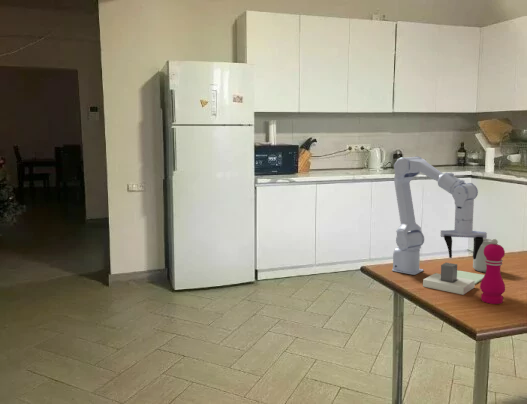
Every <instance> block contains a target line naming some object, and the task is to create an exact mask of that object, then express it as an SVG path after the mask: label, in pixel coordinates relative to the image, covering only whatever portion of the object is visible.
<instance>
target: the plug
mask: <svg viewBox="0 0 527 404" xmlns="http://www.w3.org/2000/svg"><path fill="white" fill-rule="evenodd" d="M457 270H458V263H451V262H444V263H443V264H441V265H440V274H441V281H445V282H450V283H454V282H456V281H457Z"/></svg>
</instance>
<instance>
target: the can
mask: <svg viewBox="0 0 527 404" xmlns="http://www.w3.org/2000/svg"><path fill="white" fill-rule="evenodd" d="M492 240H493V239H492V238H491V239H490V238H486V239H484V238H483V243H482V245H481V246H480V248H479V250H478V253H477V256H476V259H473V258H472V268H473V269H474V270H475V271H476V272H479V273H480V272H481V273H486V268H487V267H486V263H485V259H486V257H485V255H484V248H485V247H486V246H487V245H489V244H492V243H491V241H492Z"/></svg>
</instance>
